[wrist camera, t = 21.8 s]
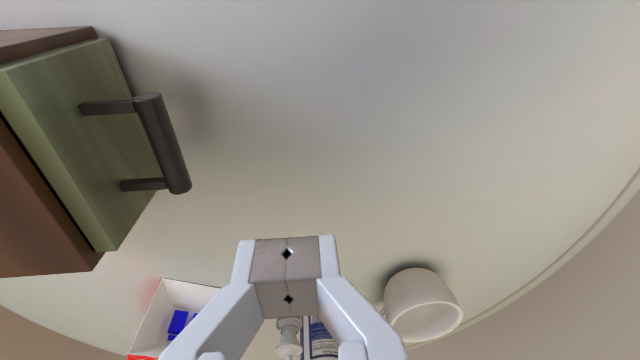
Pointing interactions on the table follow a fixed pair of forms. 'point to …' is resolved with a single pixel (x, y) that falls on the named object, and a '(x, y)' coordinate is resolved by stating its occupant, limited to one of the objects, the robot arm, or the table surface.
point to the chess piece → (289, 337)
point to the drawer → (93, 137)
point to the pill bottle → (316, 340)
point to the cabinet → (36, 185)
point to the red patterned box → (168, 316)
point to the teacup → (420, 305)
